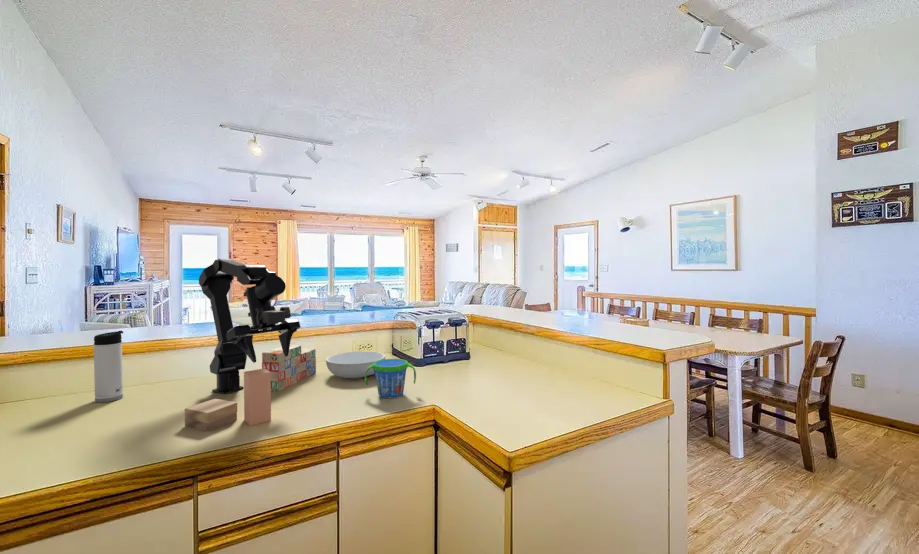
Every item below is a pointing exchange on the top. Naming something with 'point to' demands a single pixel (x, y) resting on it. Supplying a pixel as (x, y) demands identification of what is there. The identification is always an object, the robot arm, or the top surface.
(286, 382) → the stack of blocks
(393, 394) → the snack cup
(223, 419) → the tower base
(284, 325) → the robot arm
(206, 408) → the tower top
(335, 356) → the serving bowl
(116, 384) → the travel mug
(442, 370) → the top surface
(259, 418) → the pillar
